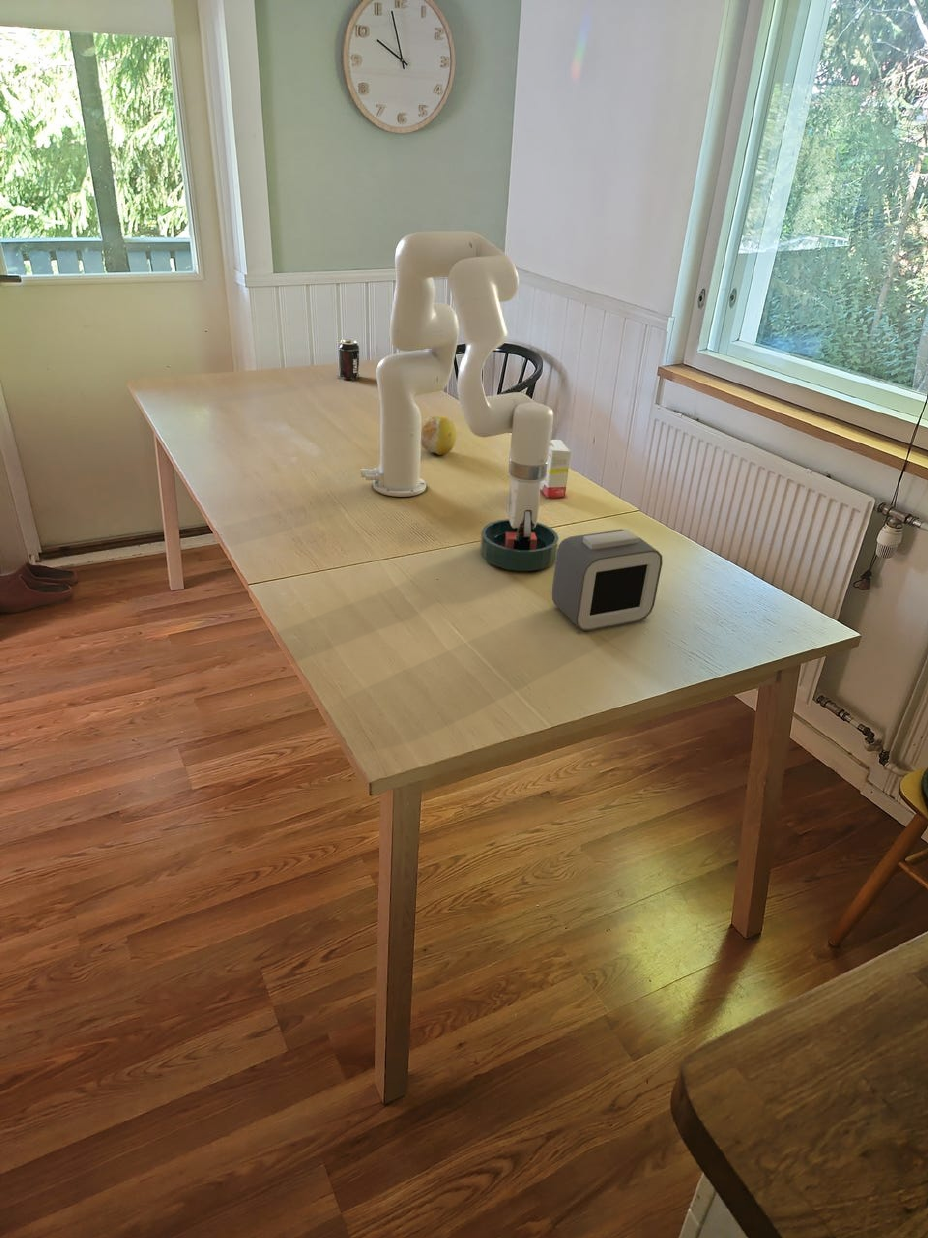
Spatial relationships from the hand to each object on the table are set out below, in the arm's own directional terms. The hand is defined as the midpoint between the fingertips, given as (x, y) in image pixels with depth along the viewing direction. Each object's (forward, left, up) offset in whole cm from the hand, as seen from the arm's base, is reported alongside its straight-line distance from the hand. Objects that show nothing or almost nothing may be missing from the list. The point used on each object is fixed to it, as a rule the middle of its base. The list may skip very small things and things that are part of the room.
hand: (519, 552), depth 173 cm
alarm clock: (+12, -22, -1) cm, 25 cm away
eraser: (0, 0, 0) cm, 0 cm away
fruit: (-14, +61, -1) cm, 63 cm away
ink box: (+13, +36, -1) cm, 38 cm away
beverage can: (-40, +132, -1) cm, 138 cm away
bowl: (0, 0, -1) cm, 1 cm away
